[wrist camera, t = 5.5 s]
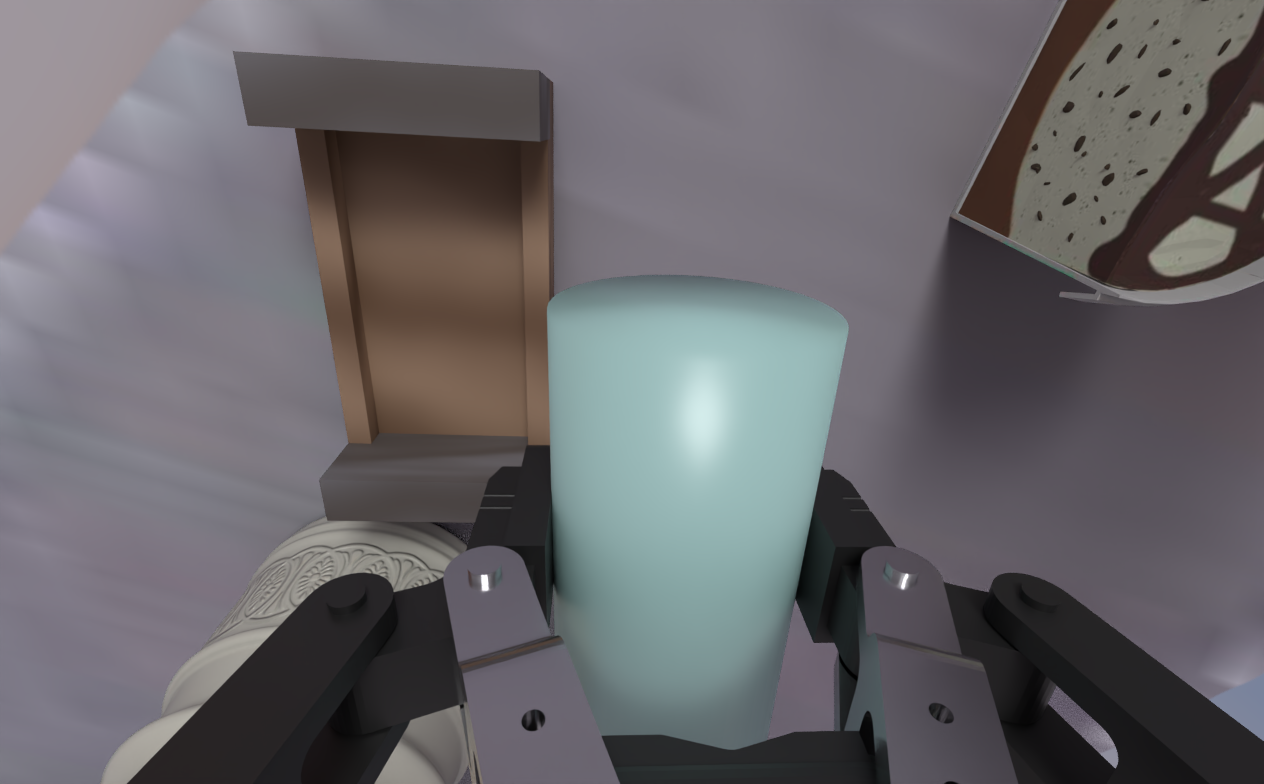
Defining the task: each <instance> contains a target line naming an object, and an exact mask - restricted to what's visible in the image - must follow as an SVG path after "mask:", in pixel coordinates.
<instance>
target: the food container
mask: <svg viewBox="0 0 1264 784" xmlns="http://www.w3.org/2000/svg"><path fill="white" fill-rule="evenodd" d="M950 217H952V218H954V219H956V220H958V221H960V222H962V223H964V224H966V225H968V226H970V227H972V228H974V229H976V230H978V231H980V232H982V233H984V234H986V235H988V236H990V237H992V238H994V239H996V240H998V241H1000V242H1002V243H1004V244H1006V245H1008V246H1010V247H1012V248H1014V249H1016V250H1018V251H1020V252H1022V253H1024V254H1026V255H1028V256H1030V257H1032V258H1034V259H1036V260H1038V261H1040V262H1042V263H1044V264H1046V265H1048V266H1050V267H1052V268H1054V269H1056V270H1058V271H1060V272H1062V273H1064V274H1066V275H1068V276H1070V277H1072V278H1074V279H1076V280H1078V281H1080V282H1082V283H1084V284H1086V285H1088V286H1090V287H1092V288H1094V289H1096V290H1097V291H1096V293H1095V294H1087V293H1073V292H1060V295H1059V297H1063V298H1068V299H1073V300H1078V301H1082V302H1091V303H1101V304H1112V305H1122V306H1141V307H1154V306H1163V305H1173V304H1181V303H1188V302H1198V301H1204V300H1208V299H1212V298H1216V297H1220V296H1224V295H1228V294H1232V293H1235V292H1237V291H1240V290H1243V289H1245V288H1248V287H1250V286H1253V285H1256V284H1258V283H1261V282H1263V281H1264V0H1059V2H1058V4H1057V6H1056V8H1055V10H1054V12H1053V14H1052V16H1051V18H1050V20H1049V22H1048V24H1047V26H1046V28H1045V30H1044V32H1043V34H1042V36H1041V38H1040V40H1039V42H1038V44H1037V46H1036V48H1035V50H1034V52H1033V54H1032V56H1031V58H1030V59H1029V61H1028V63H1027V65H1026V67H1025V69H1024V71H1023V73H1022V75H1021V77H1020V79H1019V81H1018V83H1017V85H1016V87H1015V89H1014V91H1013V93H1012V95H1011V97H1010V99H1009V101H1008V103H1007V105H1006V107H1005V109H1004V111H1003V113H1002V115H1001V117H1000V119H999V121H998V123H997V125H996V127H995V129H994V131H993V133H992V135H991V137H990V139H989V140H988V142H987V144H986V146H985V148H984V150H983V152H982V154H981V156H980V158H979V160H978V162H977V164H976V166H975V168H974V170H973V172H972V174H971V176H970V178H969V180H968V182H967V184H966V186H965V188H964V190H963V192H962V194H961V196H960V198H959V200H958V202H957V204H956V206H955V208H954V210H953V212H952V214H951V216H950Z"/></svg>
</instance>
